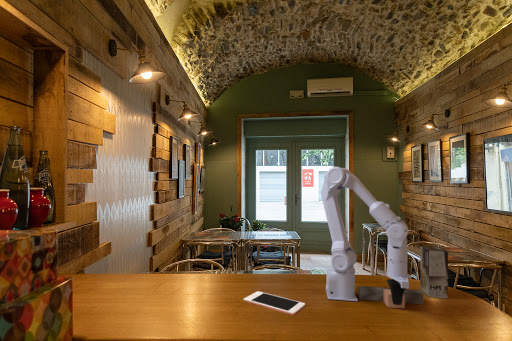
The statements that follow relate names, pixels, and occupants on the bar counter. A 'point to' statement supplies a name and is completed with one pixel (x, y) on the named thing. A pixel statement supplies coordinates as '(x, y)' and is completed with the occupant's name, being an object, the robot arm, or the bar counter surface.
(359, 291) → the gray rectangular bar
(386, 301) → the block
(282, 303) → the cell phone
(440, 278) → the coffee box
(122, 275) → the bar counter surface
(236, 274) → the bar counter surface
